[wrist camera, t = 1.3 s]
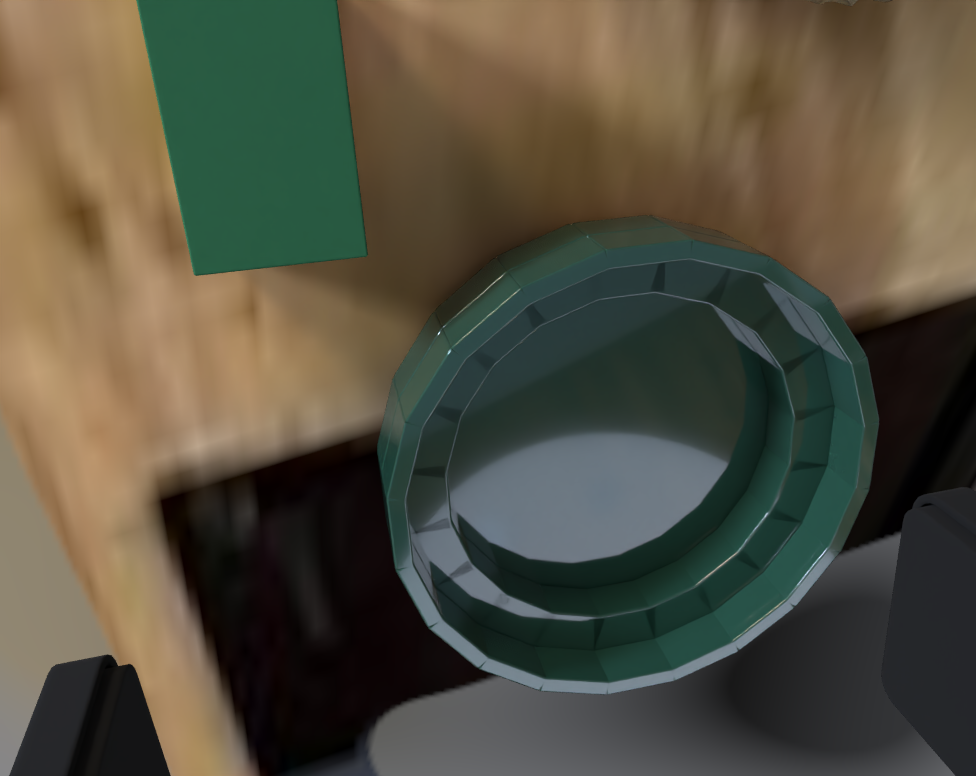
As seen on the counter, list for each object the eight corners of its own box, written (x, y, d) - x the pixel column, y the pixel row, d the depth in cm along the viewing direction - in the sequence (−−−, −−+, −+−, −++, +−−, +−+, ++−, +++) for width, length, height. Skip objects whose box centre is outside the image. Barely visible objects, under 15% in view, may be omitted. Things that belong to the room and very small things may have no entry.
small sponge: (154, -19, 22) (130, -25, 19) (328, -29, 23) (332, -36, 20) (207, 243, 25) (193, 276, 22) (359, 227, 26) (368, 257, 23)
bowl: (349, 241, 26) (357, 278, 22) (833, 189, 28) (910, 214, 25) (403, 655, 33) (416, 734, 29) (791, 582, 35) (847, 646, 32)
